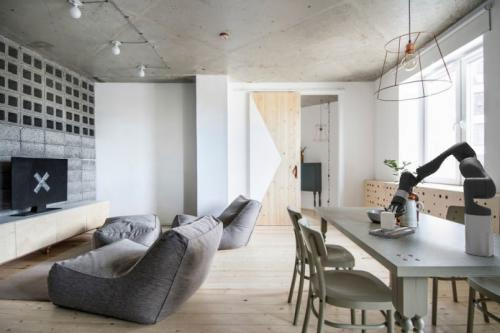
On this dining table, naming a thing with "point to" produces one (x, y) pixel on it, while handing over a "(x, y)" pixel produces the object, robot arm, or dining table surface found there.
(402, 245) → the dining table surface
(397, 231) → the grey tray
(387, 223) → the white upright block
